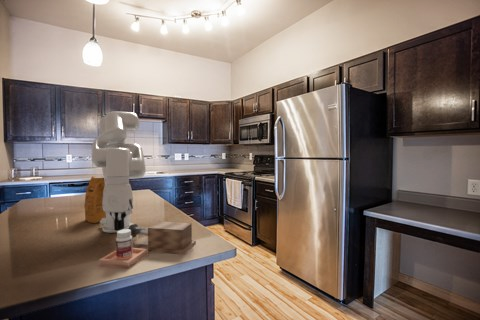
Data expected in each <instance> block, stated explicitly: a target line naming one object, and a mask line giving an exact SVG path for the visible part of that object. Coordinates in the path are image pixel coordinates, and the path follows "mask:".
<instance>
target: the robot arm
mask: <svg viewBox="0 0 480 320" xmlns="http://www.w3.org/2000/svg"><path fill="white" fill-rule="evenodd" d="M98 125H99V131H100V135H98V136H97V137H96V138H95V139H94V141H93V142H92V144H91V145H92V146H91V162H92V163H93V165H94V166H95V167H96V168H101V169H102V175H103V178H104V183H105V186H104V191H103V211H105V213H106V218H102V219H101V221H100V222H99V224H102V225H103V226H102V227H101V229H102V232H103V233H107V234H110V233H111V234H113V233H114V234H115V233H117V232H118V231H119V230H123V229H129V227H130V225H132V224H134V222H131V215H132V214H133V209H134V197H133V190H132V186H131V184H130V179H131V180H132V179H140V178H143V177H144V176H145V175H146V163H145V162H146V161H145V157H144V151H143V148H142V147H141V145H140V144H137V143H126V141H125V140H126V139H127V135H128V134H130V133H131V134H133V133H136V132H137V131H138V129H139V127H140V120H139V117H138V115H137V113H136V112H131V111H130V112H128V111H117V110H115V111H110V112H107V113H106V115H105V116H102V117H101V118H100V119H99V123H98Z"/></svg>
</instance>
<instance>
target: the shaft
mask: <svg viewBox="0 0 480 320" xmlns="http://www.w3.org/2000/svg"><path fill="white" fill-rule="evenodd" d="M129 229H130V230H131V236H132V239H133V238H137V236H143V237H148V227H141V226H139V225H138V224H136V223H133V224H132V225H130V227H129Z"/></svg>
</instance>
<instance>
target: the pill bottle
mask: <svg viewBox="0 0 480 320" xmlns="http://www.w3.org/2000/svg"><path fill="white" fill-rule="evenodd" d="M133 242H134V241H133V238H132V236H131V230H130V229H123V230H119V231H118V232H116V238H115V250H116V258H117V259H118V260H125V259H129V258H131V257H132V256H133Z"/></svg>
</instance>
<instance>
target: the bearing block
mask: <svg viewBox="0 0 480 320" xmlns="http://www.w3.org/2000/svg"><path fill="white" fill-rule="evenodd" d="M147 228H148V236H142V237H140V238H138V239H136V240H135V241H133V248H143V249H148V253H149V252H150V253H162V254H173V255H174V254H175V255H186V253H187V252H188V251H189V250H190V249H192V247H193V246H195V245H196V242H197V241H196V240H193V237H192V234H193V233H192V231H193V230H192V223H189V222H173V221H158V222H156V223H154V224H152V225H150V226H149V227H147Z"/></svg>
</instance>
